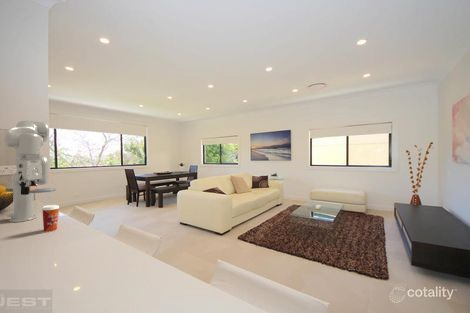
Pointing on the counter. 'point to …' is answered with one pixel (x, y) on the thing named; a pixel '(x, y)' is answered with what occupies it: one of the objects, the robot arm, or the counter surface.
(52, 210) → the paper cup
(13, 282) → the counter surface
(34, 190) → the gray paddle
